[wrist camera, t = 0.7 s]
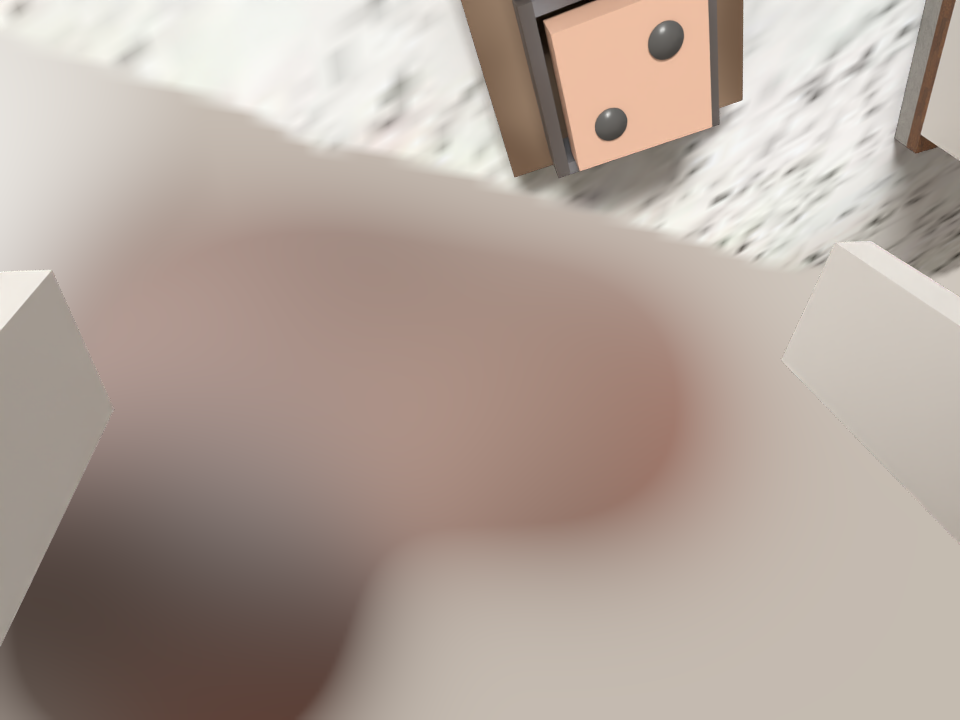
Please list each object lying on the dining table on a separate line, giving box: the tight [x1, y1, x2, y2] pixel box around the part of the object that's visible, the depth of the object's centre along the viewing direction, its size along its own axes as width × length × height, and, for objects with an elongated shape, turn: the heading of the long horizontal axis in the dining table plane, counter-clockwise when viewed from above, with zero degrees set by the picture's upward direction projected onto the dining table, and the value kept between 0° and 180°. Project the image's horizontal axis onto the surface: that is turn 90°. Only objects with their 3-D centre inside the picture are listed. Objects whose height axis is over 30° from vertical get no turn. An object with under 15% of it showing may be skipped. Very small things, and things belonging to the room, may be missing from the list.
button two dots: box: [543, 0, 712, 171], centre depth 25 cm, size 6×6×2 cm
